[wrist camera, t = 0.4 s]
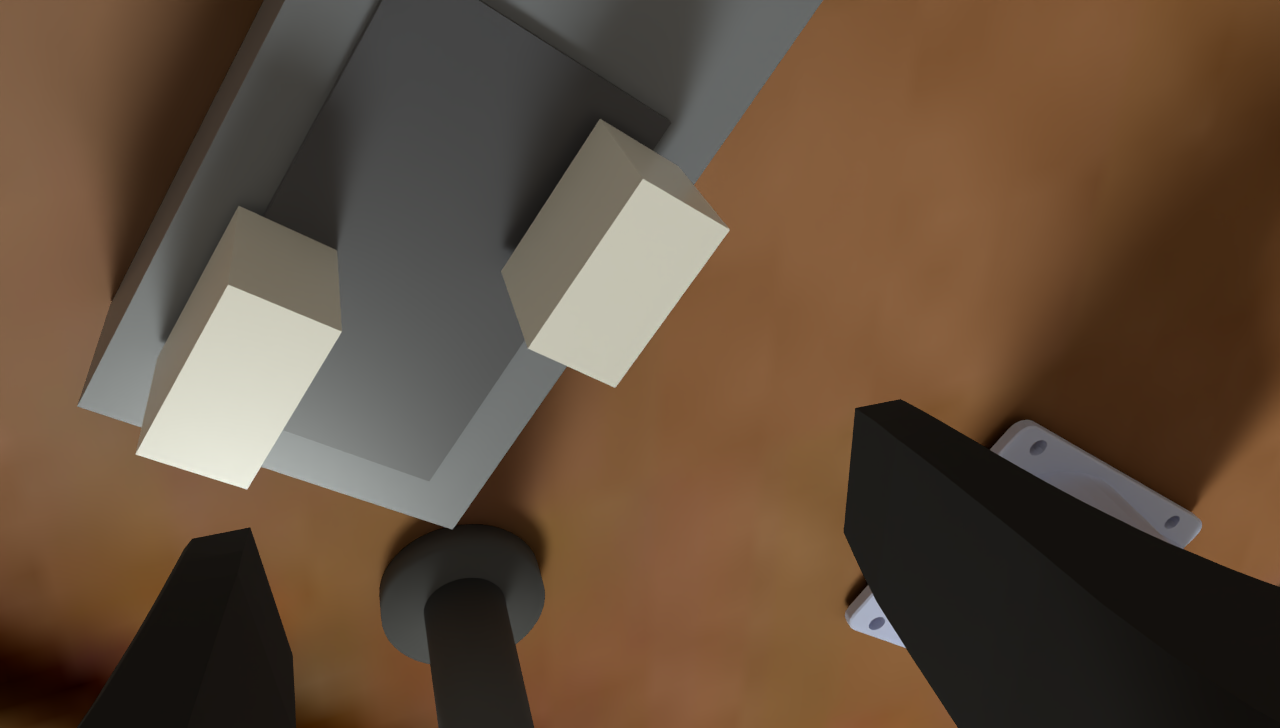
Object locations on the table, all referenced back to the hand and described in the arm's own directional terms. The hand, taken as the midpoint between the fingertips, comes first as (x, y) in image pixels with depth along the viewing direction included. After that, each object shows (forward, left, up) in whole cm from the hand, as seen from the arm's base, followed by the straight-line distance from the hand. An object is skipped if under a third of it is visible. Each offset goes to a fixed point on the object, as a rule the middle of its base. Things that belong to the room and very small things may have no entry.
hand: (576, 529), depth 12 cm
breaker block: (+1, -2, -10) cm, 10 cm away
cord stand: (-5, +9, -10) cm, 15 cm away
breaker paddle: (-1, -2, -6) cm, 6 cm away
